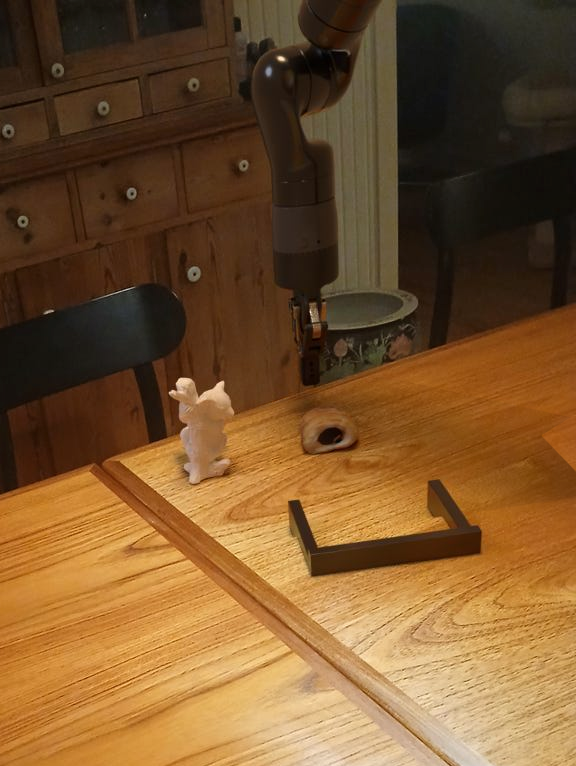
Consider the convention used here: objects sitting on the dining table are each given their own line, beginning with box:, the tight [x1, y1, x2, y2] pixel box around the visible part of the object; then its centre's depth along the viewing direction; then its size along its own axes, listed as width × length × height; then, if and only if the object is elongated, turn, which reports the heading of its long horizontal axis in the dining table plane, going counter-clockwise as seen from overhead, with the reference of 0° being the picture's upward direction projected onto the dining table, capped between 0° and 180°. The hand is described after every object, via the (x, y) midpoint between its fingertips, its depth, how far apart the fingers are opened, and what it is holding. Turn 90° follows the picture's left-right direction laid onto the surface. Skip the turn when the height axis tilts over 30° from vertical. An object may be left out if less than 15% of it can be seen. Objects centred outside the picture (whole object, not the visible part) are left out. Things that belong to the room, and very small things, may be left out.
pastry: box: [298, 406, 360, 455], centre depth 119 cm, size 9×7×4 cm
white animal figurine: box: [168, 377, 235, 485], centre depth 114 cm, size 8×7×12 cm
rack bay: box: [287, 478, 483, 577], centre depth 96 cm, size 15×13×4 cm
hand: (310, 383), depth 124 cm, fingers closed
